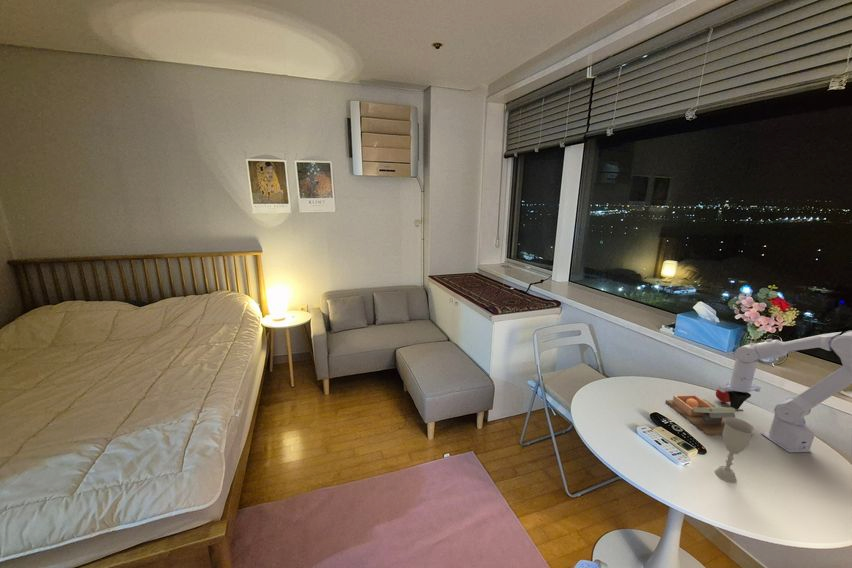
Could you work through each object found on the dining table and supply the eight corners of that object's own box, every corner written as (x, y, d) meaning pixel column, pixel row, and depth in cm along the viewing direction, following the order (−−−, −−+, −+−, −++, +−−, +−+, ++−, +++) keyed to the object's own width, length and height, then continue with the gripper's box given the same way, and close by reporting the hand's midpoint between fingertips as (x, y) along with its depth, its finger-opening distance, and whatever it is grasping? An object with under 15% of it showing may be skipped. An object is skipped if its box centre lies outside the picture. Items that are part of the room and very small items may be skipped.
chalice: (743, 489, 96) (758, 436, 92) (713, 479, 99) (726, 427, 95) (737, 472, 102) (751, 421, 98) (709, 463, 106) (721, 414, 101)
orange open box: (712, 415, 128) (714, 408, 127) (690, 416, 127) (691, 408, 127) (693, 402, 136) (695, 395, 136) (672, 402, 136) (673, 395, 135)
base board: (752, 433, 119) (755, 421, 118) (706, 434, 119) (709, 422, 117) (704, 401, 139) (707, 390, 137) (665, 402, 138) (667, 391, 137)
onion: (718, 405, 136) (722, 387, 134) (711, 397, 141) (715, 380, 139) (735, 407, 134) (740, 390, 132) (727, 399, 140) (731, 383, 138)
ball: (698, 411, 131) (702, 404, 129) (688, 411, 131) (693, 405, 129) (691, 402, 135) (695, 396, 132) (681, 402, 135) (686, 396, 132)
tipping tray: (761, 416, 118) (758, 407, 119) (713, 417, 118) (710, 408, 119) (737, 415, 127) (734, 406, 128) (691, 416, 127) (689, 407, 128)
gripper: (750, 370, 128) (742, 401, 131) (714, 370, 127) (707, 401, 130) (769, 379, 121) (760, 412, 124) (731, 380, 120) (723, 412, 124)
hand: (734, 407), depth 127 cm, fingers closed
